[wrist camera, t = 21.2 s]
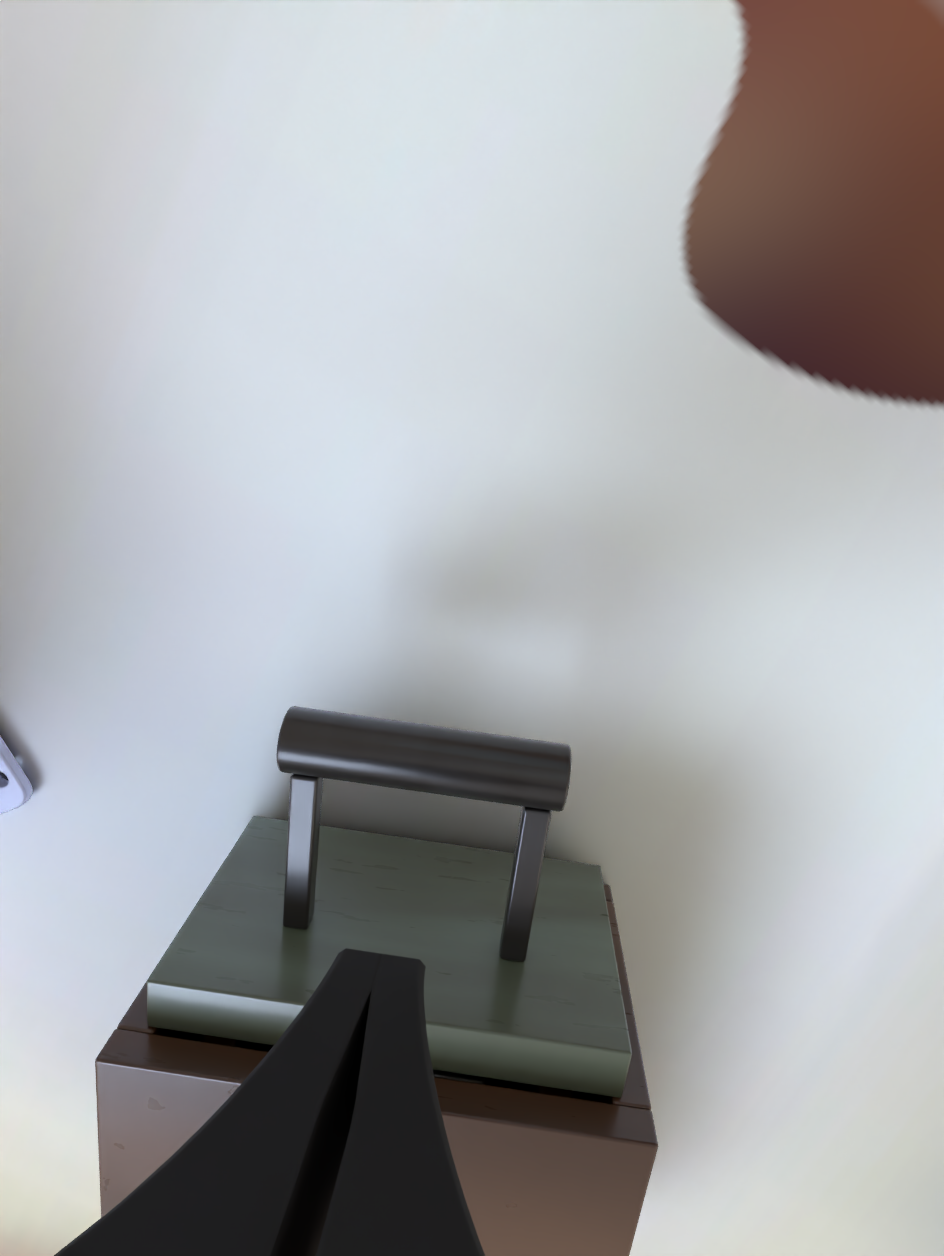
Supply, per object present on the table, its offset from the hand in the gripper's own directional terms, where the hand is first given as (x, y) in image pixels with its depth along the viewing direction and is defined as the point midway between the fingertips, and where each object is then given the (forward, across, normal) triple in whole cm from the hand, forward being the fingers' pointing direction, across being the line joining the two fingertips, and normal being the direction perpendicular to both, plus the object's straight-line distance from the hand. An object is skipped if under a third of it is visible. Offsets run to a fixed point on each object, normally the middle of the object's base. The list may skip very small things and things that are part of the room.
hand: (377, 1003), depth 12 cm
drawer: (+8, 0, +6) cm, 10 cm away
